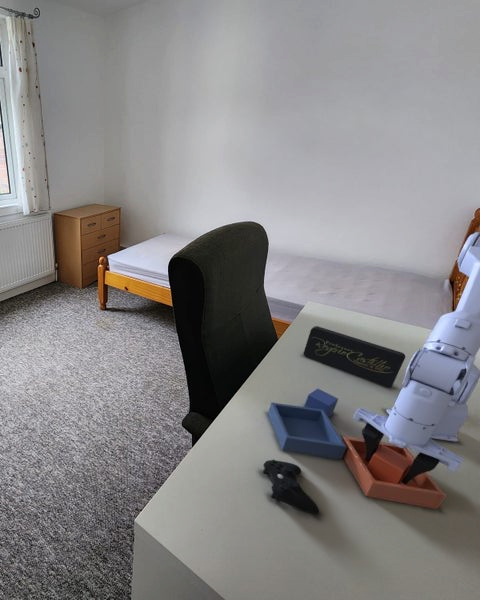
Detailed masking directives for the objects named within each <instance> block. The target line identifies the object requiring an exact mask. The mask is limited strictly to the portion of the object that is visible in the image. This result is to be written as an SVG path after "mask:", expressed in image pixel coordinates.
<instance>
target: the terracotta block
mask: <svg viewBox="0 0 480 600" xmlns="http://www.w3.org/2000/svg"><path fill="white" fill-rule="evenodd" d="M411 463H412V460H410V459H408V458H406V457H405V456H403V455H401V454H399V453H397V452H395V451H394V450H392V449H390V448H388V447H386V446H384V445H382V446H381V447H380V448H379V449H378V450H377V451H376V452H375V453H374V454H373V456H372V458H371V460H370V462H369V465H368V467H367V469H368V470H369V472H370V473H371V475H372V476H373V477H375V478H376V479H378V480H380V481H381V482H387V483H393V484H399V483H400V482H401V480H402V479H403V478H404V476H405V474H406V472H407V470H408V469H409V467H410V465H411Z"/></svg>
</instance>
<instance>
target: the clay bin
mask: <svg viewBox="0 0 480 600" xmlns="http://www.w3.org/2000/svg"><path fill="white" fill-rule="evenodd" d="M341 439H342V440H343V442H344V444H345V445H346V450H345V452H344V454H343V456H342V459H343V460H344V462H345V463H346V465H347V466H348V468H349V470H350V472H351V473H352V476H353V477H354V478H355V480H356V481H357V484H358V485H359V487H360V488H361V490H362V492H363V494H364V495H365V497H367V498H368V497H369V498H373V499H380V500H385V501H391V502H396V503H401V504H406V505H407V504H408V505H412V506H418V507H423V508H429V509H434V510H438V509H439V507H440V506H441V504H442V502H443V501H444V499H445V498H446V496H447V495H446V494H445V493H444V492H443V490H442V489H441V488H440V486H439V485H438V484H437V483H436V482H435V480H434V479H433V478H432V477H431V476H430V474H429V473H428V472H425V473H422V474H419V475H417V476H416V477H414V478H412V479H411V480H410V481H409V482H408V483H407V484H404V483H402V482H400V483H399V484H393V483H387V482H381V481H380V480H378V479H376V478H375V477H373V476H372V475H371V473H370V472H369V470H368V469H367V467H368V465H369V462H367V461H365V457H366V447H365V441H364V439H361V438H355V437H348V436H343V437H342V438H341ZM382 445H384V446H386V447H388V448H390V449H392V450H394V451H395V452H397V453H399V454H401V455H403V456H405V457H406V458H408V459H410V460H412V463H413V461H414V459H415V458H416V456H414V455H413V454H412V452H411V451H410V450H409V448H407V447H405V448H400V447H398V446H396V445H394V444H393V443H388V442H381V441H380V443H379V446H378V448H377V450H378V449H379V448H380V447H381V446H382ZM412 463H411V465H412ZM411 465H410V467H411ZM410 467H409V469H410ZM409 469H408V470H407V472H406V474H407V473H408V471H409ZM406 474H405V475H406ZM404 477H405V476H404ZM401 481H402V480H401Z"/></svg>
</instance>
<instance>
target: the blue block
mask: <svg viewBox="0 0 480 600" xmlns="http://www.w3.org/2000/svg"><path fill="white" fill-rule="evenodd" d="M338 402H339V398H338V397H336V396H335V395H332V394H330V393H329V392H326V391H324V390H322V389H319V388H316V389H315V390H313V391H312V392H310V393H309V394H308V395H307V398H306V400H305V403H304V406H303V407H307V408H315V409H322V410H324V412H325V413H326V415H327V416H328V418H329V417H331V416H332V415H333V414H334V412H335V409H336V406H337V404H338Z"/></svg>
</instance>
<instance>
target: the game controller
mask: <svg viewBox="0 0 480 600" xmlns="http://www.w3.org/2000/svg"><path fill="white" fill-rule="evenodd" d="M263 467H264V469H263V471H262V474H264V475H267V476H269V477H270V481H271V484H272V485H271V492H272V493H271V495H270V498H271V499H273V500H275V501H276V502H281V503H284V504H287V505H288V506H291V507H293V508H296V509H298V510H300V511H303V512H304V513H309V514H312V515H319V514H320V509H319V507H318V505H317V503H316V502H315V501H314V500H313V499H312V498H311V496H309V495H308V494H307V493H306V492H305V490H304V489H303V488H302V486H301V484H300V482H299V480H298V477H297V476H300V475H301V474H302V469H301V467H300V466H299V465H297V464H295V463H293V462H292V463H291V462H288V461H282V460H276V459H269V460H266V461H265V462H264V463H263Z"/></svg>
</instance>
